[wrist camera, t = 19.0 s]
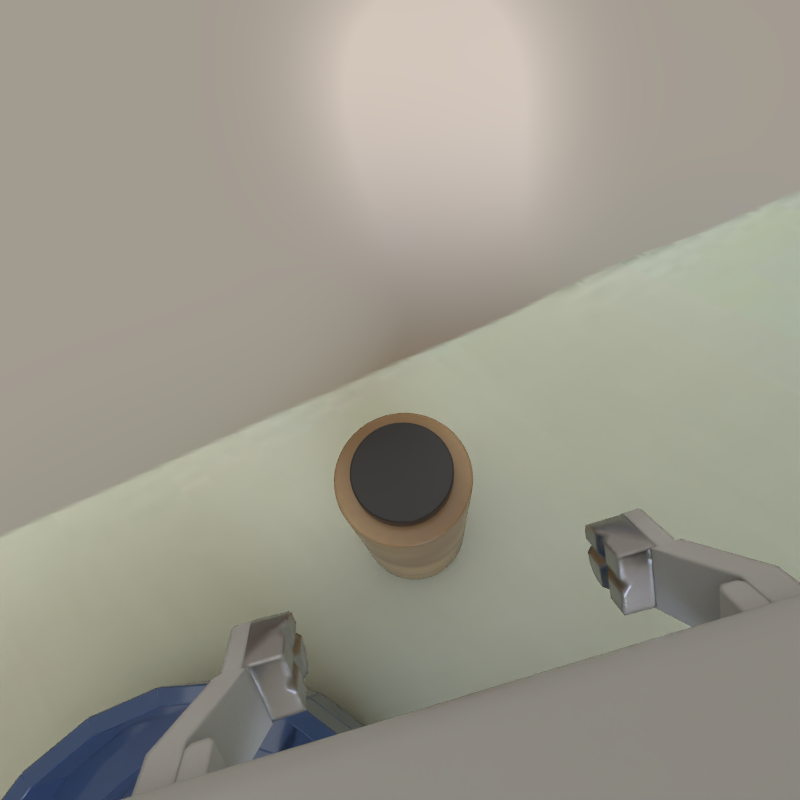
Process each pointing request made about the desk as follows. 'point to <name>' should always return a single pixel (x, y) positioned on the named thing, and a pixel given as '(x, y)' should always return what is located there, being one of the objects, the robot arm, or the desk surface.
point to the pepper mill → (406, 492)
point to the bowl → (149, 744)
